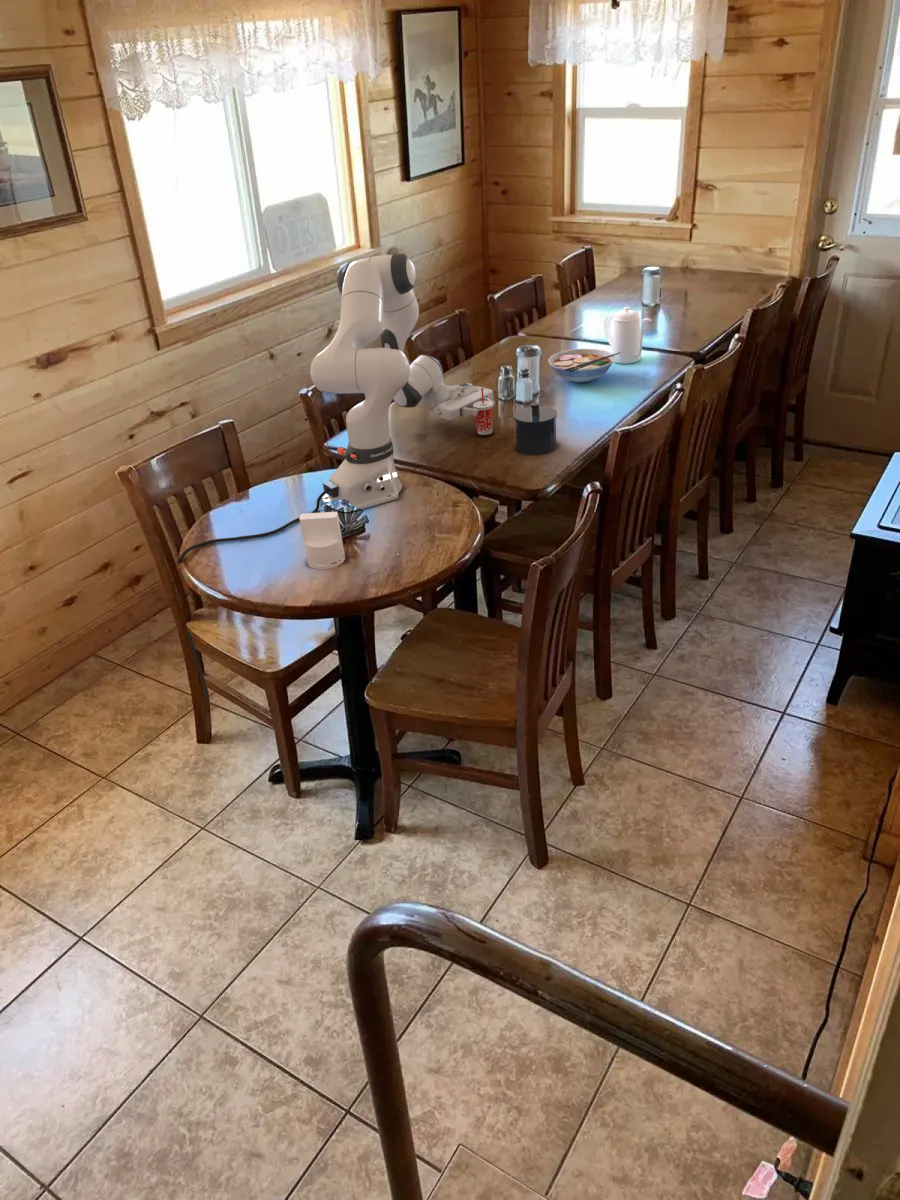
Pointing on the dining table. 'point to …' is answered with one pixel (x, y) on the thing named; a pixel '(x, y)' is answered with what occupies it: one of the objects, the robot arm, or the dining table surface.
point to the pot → (536, 437)
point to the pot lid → (535, 414)
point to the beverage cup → (484, 416)
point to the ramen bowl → (581, 364)
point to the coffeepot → (625, 335)
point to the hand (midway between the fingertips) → (485, 408)
